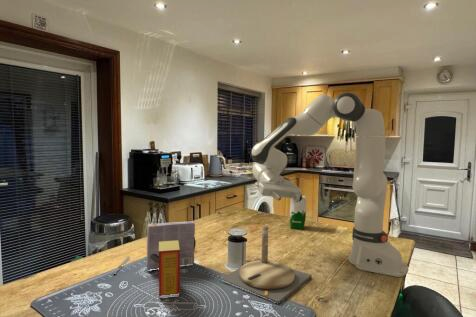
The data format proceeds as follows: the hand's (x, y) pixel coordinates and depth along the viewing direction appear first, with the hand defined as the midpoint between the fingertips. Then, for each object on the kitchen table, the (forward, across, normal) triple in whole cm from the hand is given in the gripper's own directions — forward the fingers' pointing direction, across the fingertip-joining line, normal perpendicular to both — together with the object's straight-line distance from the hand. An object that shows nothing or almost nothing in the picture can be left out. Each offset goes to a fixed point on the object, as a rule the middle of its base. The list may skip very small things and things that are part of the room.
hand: (288, 199), depth 129 cm
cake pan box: (-3, -40, +36) cm, 54 cm away
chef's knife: (-11, -57, +42) cm, 72 cm away
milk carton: (-27, +37, +32) cm, 56 cm away
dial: (+19, -13, +22) cm, 31 cm away
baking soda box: (+14, -46, +31) cm, 57 cm away
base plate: (+19, -13, +23) cm, 33 cm away
